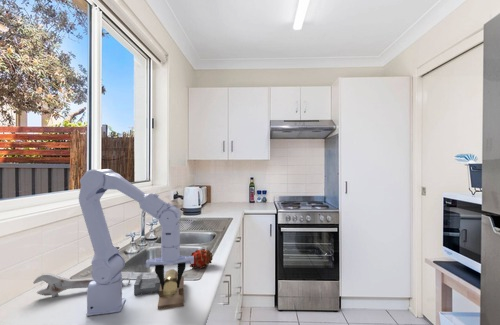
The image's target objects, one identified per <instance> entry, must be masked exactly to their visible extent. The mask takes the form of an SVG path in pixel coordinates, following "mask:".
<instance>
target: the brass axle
mask: <svg viewBox="0 0 500 325" xmlns="http://www.w3.org/2000/svg"><path fill="white" fill-rule="evenodd" d="M164 278H165V282H164V288H163V294H164V295H165V296H166V297H173V296H174V295H175V294H176V292H177V278H178V270H175V269H173V268H172V269H168V271H166V272H165V275H164Z"/></svg>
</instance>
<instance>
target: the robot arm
mask: <svg viewBox="0 0 500 325" xmlns="http://www.w3.org/2000/svg"><path fill="white" fill-rule="evenodd" d="M79 183H80V190H79V194H78V203H79V206H80V208H81V212H82V215H83V219H84V222H85V225H86V228H87V234H88V235H89V239H90V242H91V246H92V248H93V252H94V254H93V257H92V259H91V266H92V270H91V277H92V278H93V280H94V281H91V282H90V283H89V285H88V288H87V289H86V290H87V292H86V316H87V317H88V316H89V317H90V316H96V315H105V314H111V313H114V314H115V313H119V312H121V311H122V309H123V306H124V304H125V301H126V298H125V297H123V286H122V282H123V281H122V277H123V276H122V270H124V268H125V264H126V261H125V258H124V257H123V256H122V255H121V253H120V251H119V249H118V248H117V247H116V246H114V244H113V242H112V241H113V240H112V238H111V234H110V231H109V227H108V223H107V220H106V217H105V214H104V211H103V207H102V204H101V198H102V197H103V196H104V194H105V193H106V192H107V191H108V190H117V191H118V192H120V193H122V194H124V195H125V196H127V197H128V198H130V199H133V201H136V203H137V202H138V204H139V208H140V209H141V210H142V211H144V212H145V213H147V214H149V215H150V216H151V217H154V218H155V219H156V220H158V223H159V225H160V226H161V227H160V228H161V234H160V239H161V240H160V241H161V242H160V245H161V247H160V255H161V256H160V257H156V258H149V259H146V261H145V268H146V269H148V268H149V269H150V268H151V267H152V268H153V267H154V272H155V274H156V277H157V276H158V278H159V280H160V283H161V287H162V290H163V288H164V278H165V266H173V265H175V266H176V265H177V274H178V276H177V288H179V285H180V280H181V277H182V276H183V274H184V272H185V270H186V265H187V264H189V265H191V264H194V256H191V255H181V254H180V252H181V248H180V247H181V246H180V245H181V242H180V241H181V238H180V237H181V233H180V232H181V231H180V220H181V218H182V211H181V209H180V208H178V206H177V205H172V204H171V203H170V202H166V201H164V200H163V199H161V198H160V197H159V196H160V195H159V194H158V193H153V192H150V193H145V192H144V191H142V190H141V188H138V187H137V186H135V184H133V183H131V182H130V181H129V180H127V179H126V178H124V177H123V176H122V175H121V174H120V173H118V172H116V171H114V170H112V169H111V168H110V169H109V168H104V169H89V170H87V171H85V172H84V174H83V175H82V176H81V177H80V179H79Z"/></svg>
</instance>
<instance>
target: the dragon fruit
mask: <svg viewBox="0 0 500 325" xmlns="http://www.w3.org/2000/svg"><path fill="white" fill-rule="evenodd" d="M190 256H194V264H189V267H190V268H193V269H196V268H195V267H198V268H200V269H201V268H202V269H204V268H206V267H207V266H208V265H209V264H212V261H213V256H214V254H213V253H212V252H211V251H210V250H209V249H208V250H207V249H204V248H203V247H202V248H201V249H196V250H195V251H194V252H192V253H191V254H190Z"/></svg>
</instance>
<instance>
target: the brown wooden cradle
mask: <svg viewBox="0 0 500 325" xmlns="http://www.w3.org/2000/svg"><path fill="white" fill-rule="evenodd" d="M184 278H185V277H184V276H183V275H182V277H181V280H180V285H179V288H177V292H176V294H175V295H174V296H173V297H166V296H165V295H164V294H163V290H162V287H161V284H160V289H159V292H158V302H157V310H162V309H163V310H164V309H168V308H170V309H171V308H177V307H184V306H185V283H184V282H185V279H184ZM164 282H165V277H164Z"/></svg>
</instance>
